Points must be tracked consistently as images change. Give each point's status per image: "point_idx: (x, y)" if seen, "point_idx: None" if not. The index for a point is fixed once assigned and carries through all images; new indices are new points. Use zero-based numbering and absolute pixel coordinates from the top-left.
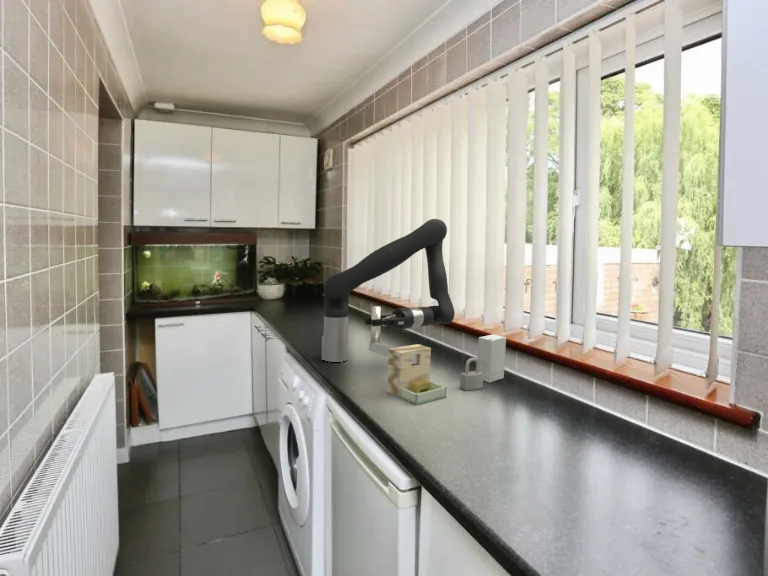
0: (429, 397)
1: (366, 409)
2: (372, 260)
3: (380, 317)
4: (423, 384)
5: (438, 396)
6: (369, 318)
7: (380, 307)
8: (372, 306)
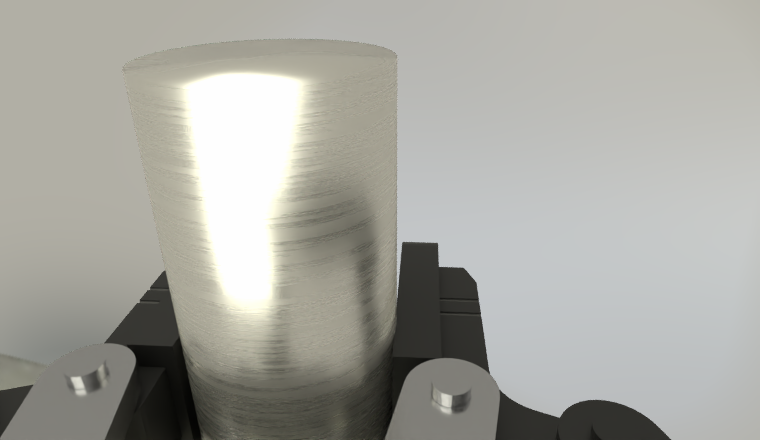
0: None
1: (39, 374)
2: None
3: (180, 337)
4: None
5: None
6: (399, 281)
7: (124, 77)
8: (370, 49)
